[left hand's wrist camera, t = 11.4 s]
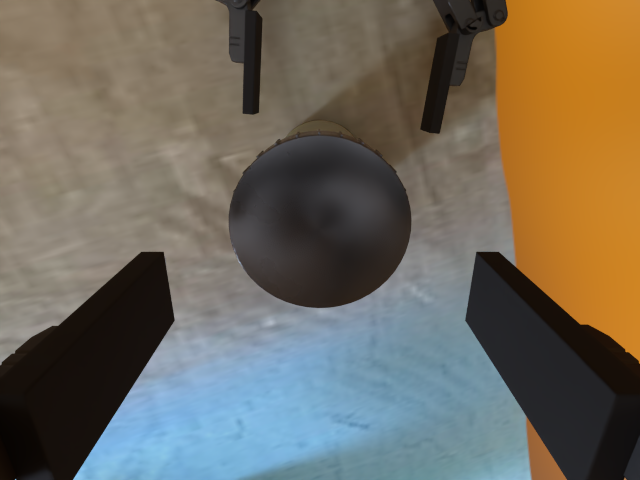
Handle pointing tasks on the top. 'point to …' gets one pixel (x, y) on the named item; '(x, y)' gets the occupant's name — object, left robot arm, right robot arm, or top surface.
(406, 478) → the top surface
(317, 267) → the lid
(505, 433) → the top surface
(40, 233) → the top surface
